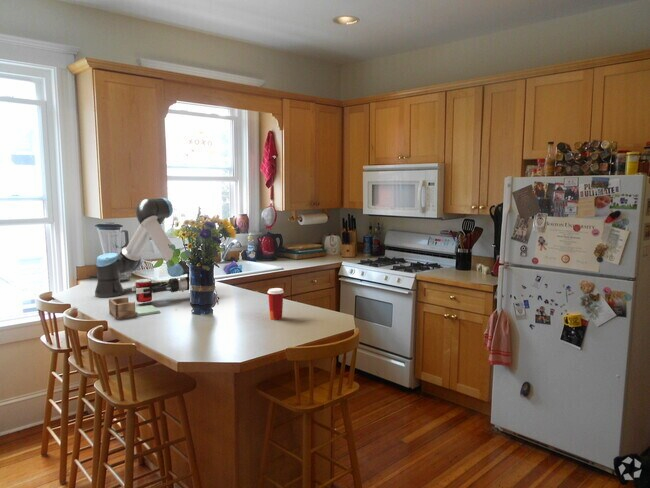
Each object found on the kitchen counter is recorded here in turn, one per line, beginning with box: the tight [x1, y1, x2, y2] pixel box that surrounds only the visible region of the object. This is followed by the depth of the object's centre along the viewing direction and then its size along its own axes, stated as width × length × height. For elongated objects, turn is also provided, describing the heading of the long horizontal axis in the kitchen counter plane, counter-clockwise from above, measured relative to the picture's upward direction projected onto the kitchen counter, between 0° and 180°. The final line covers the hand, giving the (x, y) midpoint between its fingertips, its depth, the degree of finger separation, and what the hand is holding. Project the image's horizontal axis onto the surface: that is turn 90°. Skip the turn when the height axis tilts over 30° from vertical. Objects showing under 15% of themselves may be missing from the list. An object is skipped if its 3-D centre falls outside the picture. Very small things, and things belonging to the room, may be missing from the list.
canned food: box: [135, 278, 153, 303], centre depth 262 cm, size 8×8×11 cm
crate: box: [108, 296, 161, 320], centre depth 245 cm, size 20×14×7 cm
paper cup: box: [267, 287, 285, 321], centre depth 235 cm, size 8×8×14 cm
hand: (134, 289), depth 259 cm, fingers closed on canned food, 8 cm apart
